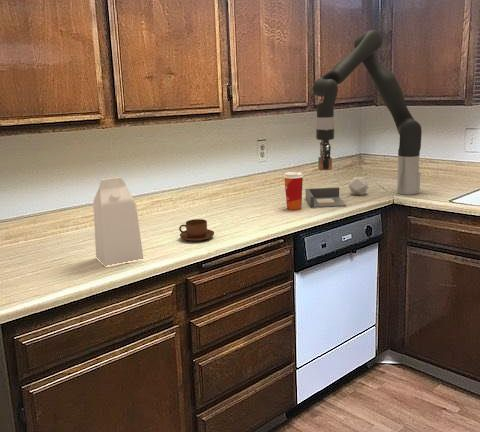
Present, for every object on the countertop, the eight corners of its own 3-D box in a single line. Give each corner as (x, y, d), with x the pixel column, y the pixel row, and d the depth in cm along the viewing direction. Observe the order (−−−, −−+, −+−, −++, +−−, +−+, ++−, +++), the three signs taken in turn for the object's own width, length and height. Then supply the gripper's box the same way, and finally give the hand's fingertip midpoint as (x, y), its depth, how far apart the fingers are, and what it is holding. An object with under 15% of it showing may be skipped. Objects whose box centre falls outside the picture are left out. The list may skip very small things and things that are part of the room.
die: (357, 198, 244) (370, 181, 243) (342, 187, 248) (355, 170, 246) (361, 201, 252) (374, 184, 250) (346, 190, 255) (359, 174, 254)
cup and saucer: (183, 245, 184) (182, 228, 182) (177, 236, 195) (176, 219, 193) (218, 241, 187) (217, 224, 185) (210, 232, 198) (209, 216, 196)
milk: (132, 251, 179) (125, 173, 173) (143, 260, 169) (136, 178, 163) (96, 258, 174) (87, 178, 167) (105, 268, 164) (96, 183, 157)
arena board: (338, 197, 245) (338, 187, 244) (346, 206, 228) (346, 195, 227) (305, 198, 245) (305, 188, 244) (310, 207, 228) (310, 197, 227)
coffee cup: (289, 205, 234) (288, 171, 230) (307, 207, 229) (306, 172, 226) (280, 209, 227) (279, 174, 223) (298, 211, 222) (298, 175, 219)
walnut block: (318, 168, 235) (318, 156, 234) (329, 168, 235) (329, 156, 234) (320, 170, 231) (320, 158, 229) (331, 170, 231) (331, 158, 229)
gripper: (313, 126, 236) (314, 165, 240) (318, 129, 222) (318, 170, 226) (331, 126, 236) (330, 165, 240) (337, 129, 222) (336, 170, 226)
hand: (325, 167), depth 233 cm, fingers closed on walnut block, 5 cm apart
